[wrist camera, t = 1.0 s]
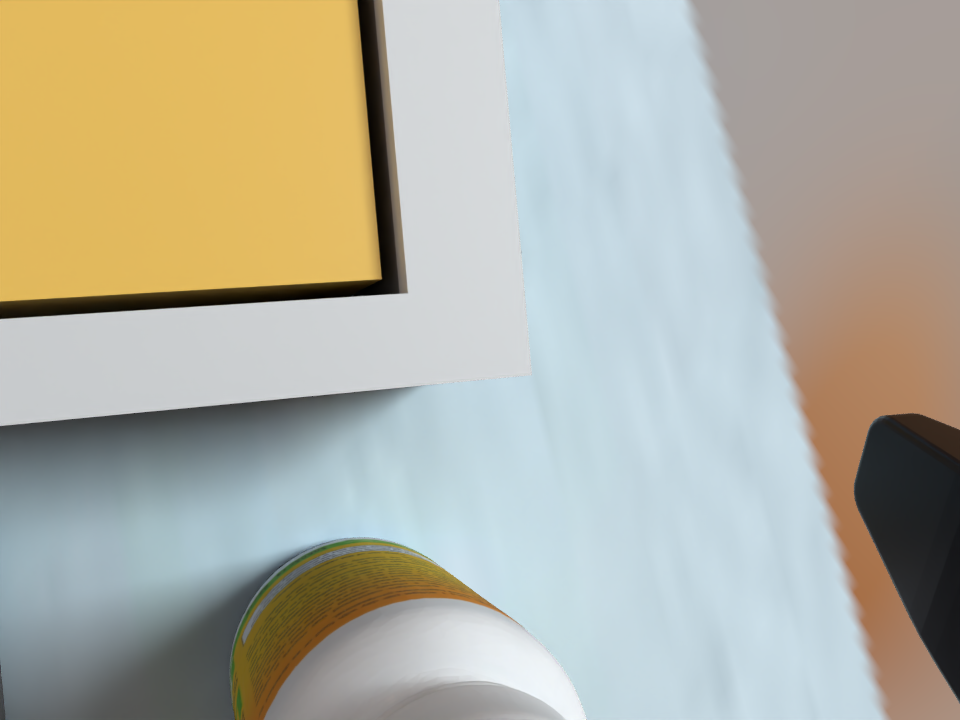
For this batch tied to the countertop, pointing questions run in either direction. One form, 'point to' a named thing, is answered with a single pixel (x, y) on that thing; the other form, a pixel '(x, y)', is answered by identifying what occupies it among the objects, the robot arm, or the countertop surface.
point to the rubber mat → (1, 700)
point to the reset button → (182, 155)
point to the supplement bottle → (387, 645)
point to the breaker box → (348, 320)
